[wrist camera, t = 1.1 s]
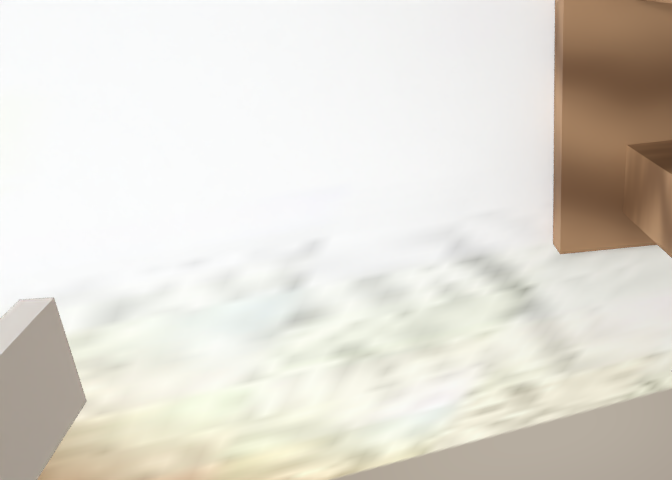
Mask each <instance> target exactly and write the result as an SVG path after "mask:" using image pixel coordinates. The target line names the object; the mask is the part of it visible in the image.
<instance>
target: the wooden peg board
mask: <svg viewBox="0 0 672 480" xmlns="http://www.w3.org/2000/svg"><path fill="white" fill-rule="evenodd" d="M553 244H554V246H555V247H556V249H557V250H558V252H559V253H560V254H566V253H576V252H586V251H596V250H607V249H617V248H627V247H637V246H647V245H658V246H660V247H661V248H662V249H663V250H664V251H665V252H666V253H667V254H668V255H669V256H670V257H671V258H672V0H555V80H554V204H553Z"/></svg>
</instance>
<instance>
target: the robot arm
mask: <svg viewBox="0 0 672 480" xmlns="http://www.w3.org/2000/svg"><path fill="white" fill-rule="evenodd" d="M671 372H672V371H671ZM85 403H86V398H85V394H84V391H83V388H82V385H81V382H80V379H79V375H78V372H77V369H76V366H75V363H74V360H73V356H72V353H71V350H70V347H69V344H68V341H67V338H66V334H65V331H64V328H63V325H62V322H61V319H60V315H59V312H58V309H57V306H56V303H55V300H54V298H38V299H23V300H19V301H18V302H17V303H16V304H15V305H14V306H13V307H12V308H11V309H10V310H8V311H7V312H6V313H5V314H4V315H3V316H2V317H1V318H0V480H37V479H38V477H39V476H40V474H41V472H42V471H43V469H44V468H45V466H46V465H47V463H48V461H49V460H50V458H51V457H52V455H53V454H54V452H55V450H56V449H57V447H58V446H59V444H60V442H61V441H62V439H63V438H64V436H65V435H66V433H67V431H68V430H69V428H70V427H71V425H72V424H73V422H74V420H75V419H76V417H77V416H78V414H79V412H80V411H81V409H82V408H83V406H84V405H85Z"/></svg>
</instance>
